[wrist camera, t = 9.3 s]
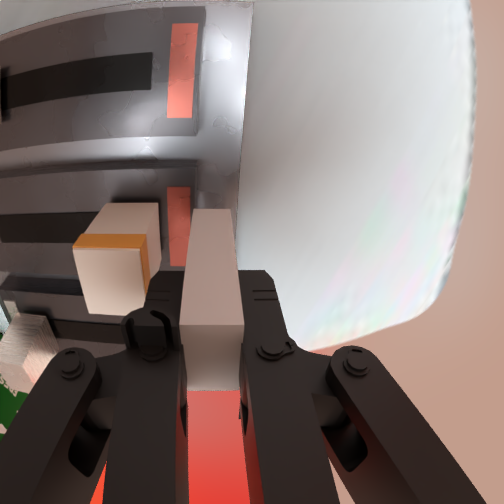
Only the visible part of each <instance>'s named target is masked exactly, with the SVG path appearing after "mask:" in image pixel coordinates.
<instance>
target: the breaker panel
mask: <svg viewBox="0 0 504 504" xmlns="http://www.w3.org/2000/svg"><path fill="white" fill-rule="evenodd" d="M253 5H254V3H253V2H241V1H223V0H173V1H156V2H144V3H134V4H125V5H118V6H111V7H105V8H99V9H93V10H88V11H83V12H78V13H73V14H69V15H65V16H61V17H57V18H53V19H49V20H46V21H42V22H39V23H35V24H32V25H29V26H26V27H23V28H20V29H17V30H14V31H11V32H8V33H6V34H3V35H0V305H1V307H2V309H3V312H4V314H5V316H6V318H7V320H8V322H9V324H10V325H9V327H8V328H7V330H6V332H5V334H4V335H3V337H2V339H1V341H0V373H1V375H2V376H3V378H4V379H5V381H6V382H7V384H8V385H9V387H10V388H11V389H13V390H17V391H21V392H25V393H30V391H31V389H32V388H33V386H34V385H35V383H36V382H37V380H38V378H39V377H40V375H41V374H42V372H43V371H44V369H45V368H46V366H47V365H48V363H49V362H50V360H51V359H52V358H53V357H54V356H55V355H56V354H57V353H58V352H60V351H62V350H64V349H67V348H72V347H78V348H84V349H86V350H87V351H89V352H91V353H92V355H93V356H94V358H98V357H103V356H108V355H113V354H116V353H119V352H121V351H123V350H125V349H126V346H125V342H124V339H123V335H122V331H121V328H120V323H121V321H122V320H123V318H124V317H125V316H122V315H105V314H90V313H89V312H88V308H87V305H86V301H85V298H84V294H83V291H82V287H81V283H80V279H79V275H78V271H77V267H76V263H75V259H74V254H73V245H74V243H75V242H76V241H77V239H78V238H79V236H80V235H81V234H84V232H85V231H86V230H87V228H88V227H89V225H90V224H91V223H92V221H93V220H94V219H95V217H96V216H97V215H98V213H99V212H100V211H101V209H102V208H103V207H104V205H105V204H106V203H158V211H159V229H160V245H161V258H162V259H161V263H160V267H159V271H185V267H186V259H187V251H188V244H189V236H190V229H191V222H192V215H193V209H231V217H232V226H233V235H234V243H235V233H236V217H237V202H238V187H239V173H240V159H241V146H242V132H243V119H244V107H245V95H246V82H247V71H248V59H249V48H250V37H251V26H252V15H253Z"/></svg>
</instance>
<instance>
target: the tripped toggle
mask: <svg viewBox="0 0 504 504" xmlns="http://www.w3.org/2000/svg"><path fill="white" fill-rule="evenodd" d="M73 254H74V259H75V263H76V267H77V271H78V275H79V279H80V283H81V287H82V291H83V294H84V298H85V301H86V305H87V308H88V312H89V313H90V314H105V315H122V316H126V315H127V314H129V313H130V312H131V311H133V310H136V309H139V308H142V307H143V306H144V302H145V298H146V294H147V290H148V286H149V282H150V279H151V278H152V277H153V276H154V275H155V274H156V273H157V272H158V271H159V267H160V263H161V259H162V258H161V245H160V229H159V211H158V203H106V204H105V205H104V207H103V208H102V209H101V211H100V212H99V213H98V215H97V216H96V217H95V219H94V220H93V221H92V223H91V224H90V225H89V227H88V228H87V230H86V231H85V232H84V234H81V235H80V236H79V238H78V239H77V241H76V242H75V243H74V245H73Z"/></svg>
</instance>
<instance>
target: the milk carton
mask: <svg viewBox="0 0 504 504" xmlns="http://www.w3.org/2000/svg"><path fill="white" fill-rule="evenodd" d="M2 337H3V335H2V334H0V341H1V339H2ZM27 396H28V393H25V392H21V391H17V390H13V389H11V388H10V387H9V385H8V384H7V382H6V381H5V379H4V378H3V376H2V375H1V373H0V442H1V440H2V438H3V436H4V434H5V433H6V431H7V429H8V427H9V426H10V424H11V422H12V420H13V419H14V417H15V415H16V414H17V412H18V410H19V409H20V407H21V405H22V404H23V402H24V401H25V399H26V397H27Z"/></svg>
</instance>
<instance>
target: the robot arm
mask: <svg viewBox="0 0 504 504" xmlns="http://www.w3.org/2000/svg"><path fill="white" fill-rule="evenodd" d="M120 328H121V331H122V335H123V339H124V342H125V346H126V349H125V350H123V351H121V352H119V353H116V354H113V355H108V356H103V357H98V358H94V356H93V355H92V353H91V352H89V351H87V350H86V349H84V348H78V347H72V348H67V349H64V350H62V351H60V352H58V353H57V354H56V355H55V356H54V357H53V358H52V359H51V360H50V362H49V363H48V365H47V366H46V368H45V369H44V371H43V372H42V374H41V375H40V377H39V378H38V380H37V382H36V383H35V385H34V386H33V388H32V389H31V391H30V393H29V394H28V396H27V397H26V399H25V401H24V402H23V404H22V405H21V407H20V409H19V410H18V412H17V414H16V415H15V417H14V419H13V420H12V422H11V424H10V426H9V427H8V429H7V431H6V433H5V434H4V436H3V438H2V440H1V442H0V504H90V501H91V498H92V496H93V493H94V491H95V488H96V486H97V484H98V481H99V478H100V476H101V474H102V471H103V468H104V466H105V464H106V472H105V482H104V491H103V503H102V504H189V483H188V404H187V390H189V391H190V390H191V391H194V390H195V391H221V390H222V391H224V390H226V391H227V390H239V386H240V396H241V398H240V409H239V410H240V411H239V419H241V424H242V433H243V443H244V452H245V462H246V471H247V480H248V487H249V497H250V504H340V502H339V498H338V494H337V490H336V486H335V482H334V478H333V474H332V470H331V466H330V463H329V459H330V461H331V463H332V465H333V466H334V468H335V470H336V472H337V473H338V475H339V477H340V478H341V480H342V482H343V484H344V485H345V487H346V489H347V491H348V492H349V494H350V495H351V497H352V499H353V501H354V502H355V504H486V502H485V501H484V499H483V498H482V497H481V495H480V494H479V492H478V491H477V489H476V488H475V487H474V485H473V484H472V482H471V481H470V480H469V478H468V477H467V476H466V474H465V473H464V471H463V470H462V469H461V467H460V466H459V464H458V463H457V462H456V460H455V459H454V457H453V456H452V455H451V453H450V452H449V451H448V450H447V448H446V447H445V445H444V444H443V443H442V441H441V440H440V439H439V437H438V436H437V435H436V433H435V432H434V431H433V429H432V428H431V427H430V425H429V424H428V423H427V421H426V420H425V419H424V417H423V416H422V415H421V413H420V412H419V411H418V409H417V408H416V407H415V405H414V404H413V403H412V402H411V400H410V399H409V398H408V397H407V395H406V394H405V393H404V391H403V390H402V389H401V387H400V386H399V385H398V384H397V382H396V381H395V380H394V378H393V377H392V376H391V375H390V373H389V372H388V371H387V370H386V368H385V367H384V366H383V364H382V363H381V362H380V361H379V359H378V358H377V357H376V356H375V355H374V354H373V353H372V352H370V351H369V350H366V349H364V348H362V347H358V346H344V347H341V348H340V349H338V350H336V351H335V352H334V354H333V355H332V356H327V355H321V354H316V353H312V352H308V351H305V350H303V349H301V348H299V347H298V346H297V344H296V343H295V341H294V340H293V339H291V338H290V337H289V335H288V333H287V329H286V325H285V322H284V318H283V314H282V310H281V307H280V303H279V301H278V295H277V292H276V288H275V284H274V281H273V279H272V278H271V276H270V275H269V274H268V273H267V272H266V271H265V270H238V269H237V260H236V252H235V243H234V235H233V226H232V217H231V209H193V215H192V222H191V229H190V236H189V244H188V251H187V259H186V267H185V271H158V272H157V273H156V274H155V275H154V276H153V277H152V278H151V279H150V282H149V286H148V290H147V294H146V298H145V302H144V306H143V307H142V308H139V309H136V310H133V311H131V312H130V313H129V314H127V315H126V316H125V317H124V318H123V320H122V321H121V323H120ZM328 458H329V459H328ZM106 461H107V463H106Z"/></svg>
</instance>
